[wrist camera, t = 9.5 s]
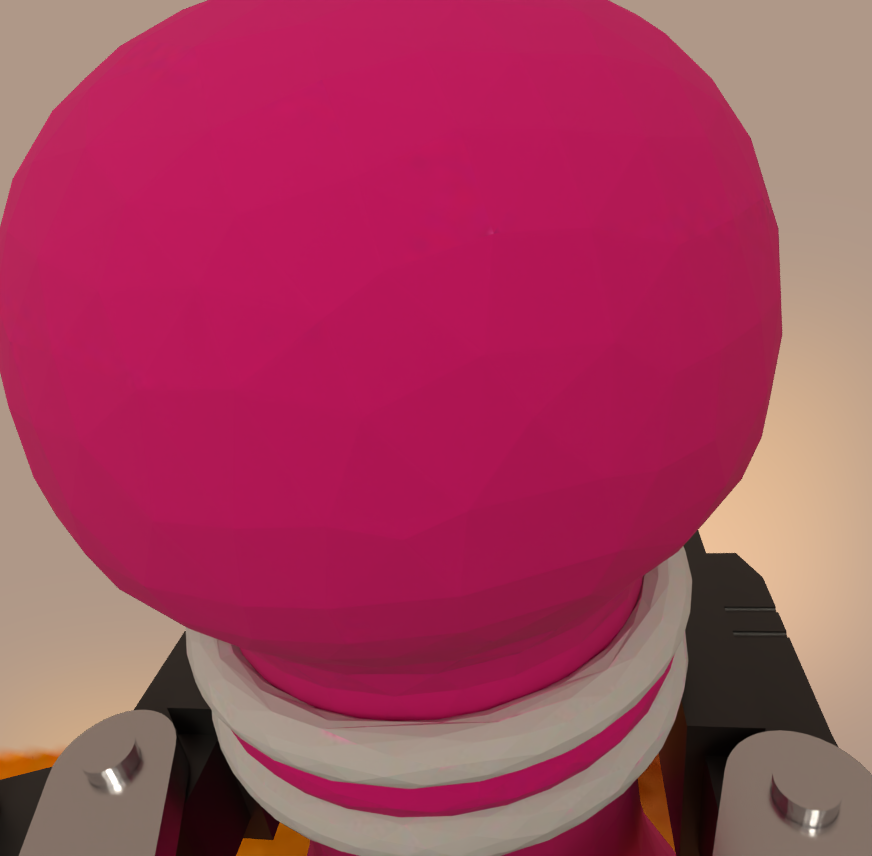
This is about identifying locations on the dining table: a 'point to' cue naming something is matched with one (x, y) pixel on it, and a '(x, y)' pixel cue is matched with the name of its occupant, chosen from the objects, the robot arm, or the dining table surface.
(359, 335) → the pepper mill
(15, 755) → the dining table surface
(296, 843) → the dining table surface
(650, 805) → the dining table surface
